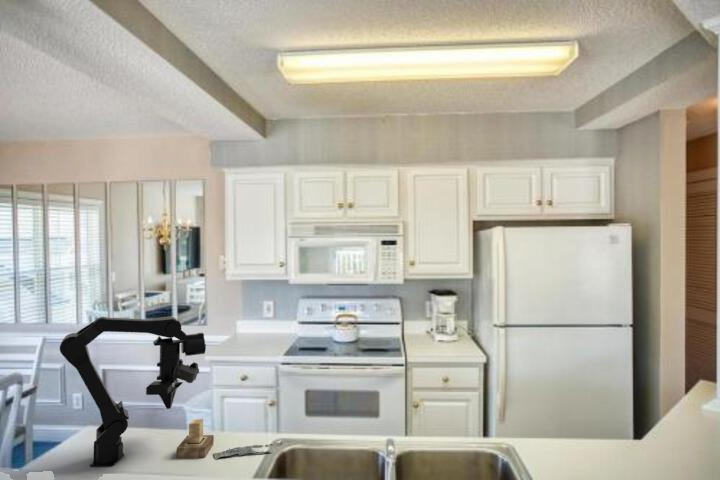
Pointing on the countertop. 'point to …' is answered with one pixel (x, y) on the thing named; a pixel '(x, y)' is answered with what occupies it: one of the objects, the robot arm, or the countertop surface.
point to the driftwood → (243, 450)
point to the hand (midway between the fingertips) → (168, 408)
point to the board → (195, 447)
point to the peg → (196, 431)
